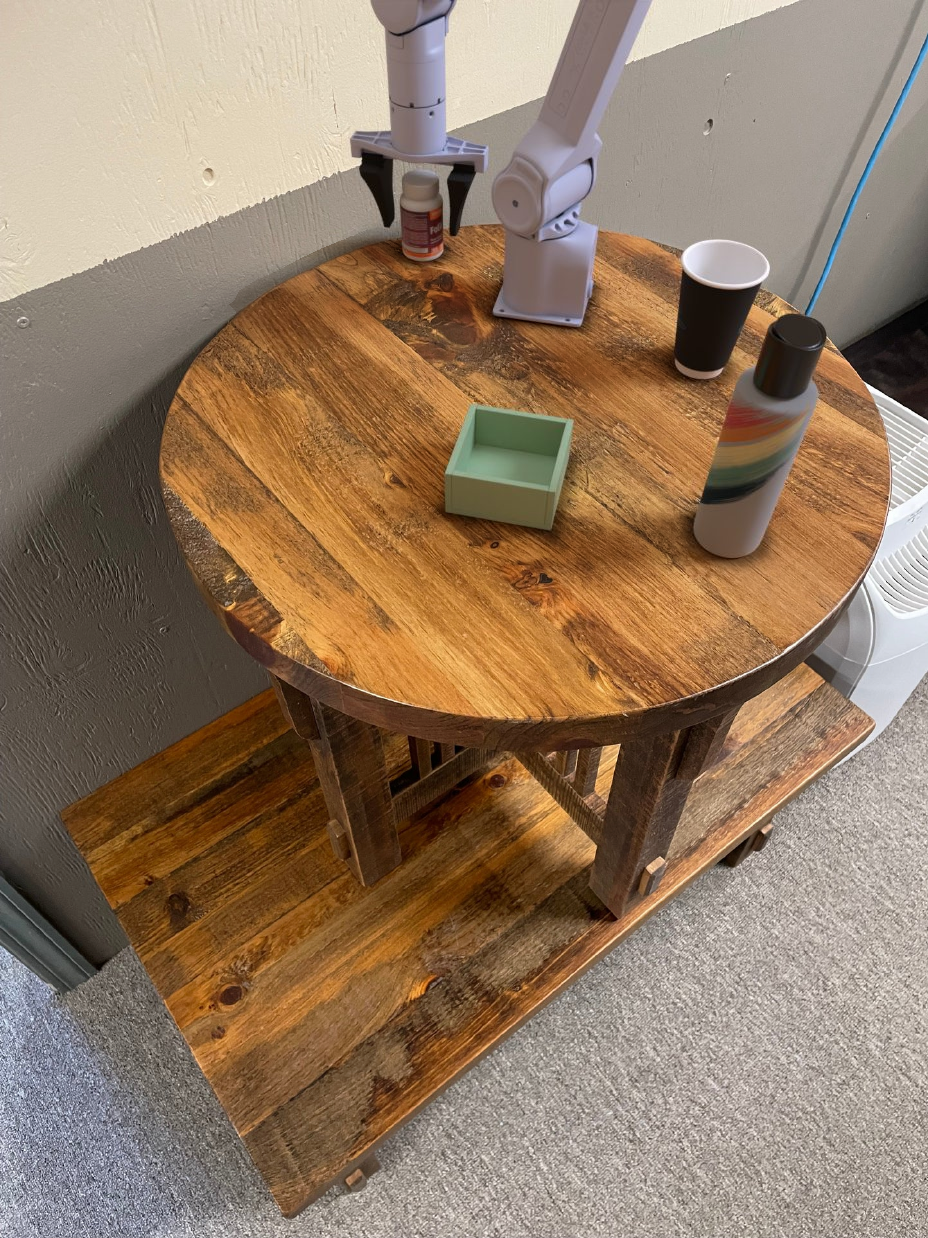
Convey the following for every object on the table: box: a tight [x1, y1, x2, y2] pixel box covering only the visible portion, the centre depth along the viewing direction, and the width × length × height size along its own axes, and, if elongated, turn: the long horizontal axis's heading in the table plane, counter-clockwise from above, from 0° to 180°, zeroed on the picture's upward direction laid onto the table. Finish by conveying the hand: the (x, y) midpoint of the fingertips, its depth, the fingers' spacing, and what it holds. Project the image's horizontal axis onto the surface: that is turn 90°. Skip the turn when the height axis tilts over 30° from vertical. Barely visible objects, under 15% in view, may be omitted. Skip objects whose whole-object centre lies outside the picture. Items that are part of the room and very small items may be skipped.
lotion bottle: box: [693, 312, 828, 559], centre depth 65 cm, size 6×6×20 cm
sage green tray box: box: [444, 403, 575, 531], centre depth 74 cm, size 9×9×4 cm
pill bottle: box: [399, 169, 444, 262], centre depth 96 cm, size 5×5×8 cm
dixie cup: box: [673, 239, 771, 380], centre depth 82 cm, size 8×8×11 cm
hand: (421, 227), depth 97 cm, fingers open, 7 cm apart
